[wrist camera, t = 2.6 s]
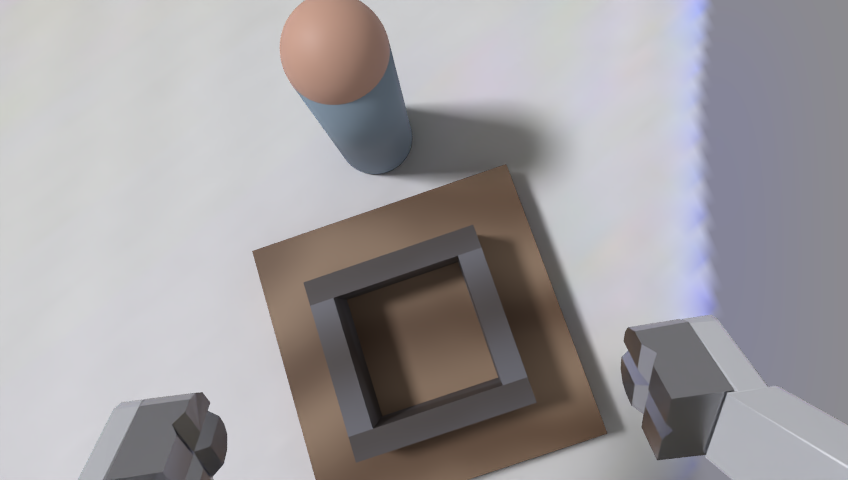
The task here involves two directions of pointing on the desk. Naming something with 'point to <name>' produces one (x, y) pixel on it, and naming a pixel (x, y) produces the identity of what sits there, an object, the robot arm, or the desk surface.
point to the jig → (426, 338)
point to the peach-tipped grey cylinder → (348, 81)
